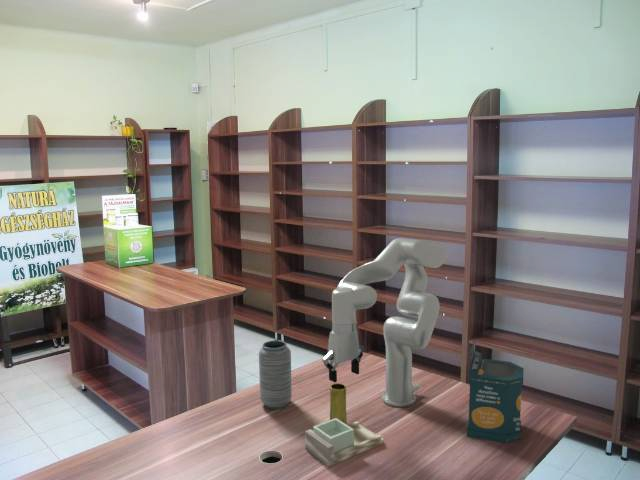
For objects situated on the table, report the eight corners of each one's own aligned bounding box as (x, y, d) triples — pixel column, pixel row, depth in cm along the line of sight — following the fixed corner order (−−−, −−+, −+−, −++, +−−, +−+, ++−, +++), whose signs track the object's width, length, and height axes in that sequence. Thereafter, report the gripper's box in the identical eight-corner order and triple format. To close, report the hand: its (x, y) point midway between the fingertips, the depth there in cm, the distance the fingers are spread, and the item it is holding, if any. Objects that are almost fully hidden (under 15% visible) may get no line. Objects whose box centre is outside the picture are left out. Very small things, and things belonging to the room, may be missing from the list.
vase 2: (345, 431, 179) (345, 390, 177) (327, 429, 180) (327, 389, 178) (348, 422, 185) (348, 383, 182) (331, 421, 186) (330, 381, 184)
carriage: (336, 435, 173) (335, 418, 172) (354, 447, 166) (353, 429, 165) (313, 444, 168) (312, 426, 167) (330, 457, 161) (330, 438, 160)
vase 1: (294, 408, 195) (293, 348, 191) (262, 413, 192) (260, 351, 189) (288, 395, 206) (287, 337, 203) (258, 398, 203) (256, 340, 200)
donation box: (472, 414, 190) (474, 337, 185) (520, 421, 184) (524, 343, 179) (466, 436, 175) (469, 354, 170) (520, 445, 169) (524, 360, 164)
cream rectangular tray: (359, 427, 181) (359, 410, 180) (383, 442, 172) (383, 424, 171) (305, 449, 169) (305, 431, 168) (328, 466, 159) (328, 447, 158)
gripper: (355, 318, 182) (355, 366, 185) (315, 329, 171) (316, 380, 174) (371, 323, 176) (371, 373, 179) (330, 335, 166) (331, 388, 168)
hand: (344, 376), depth 177 cm, fingers open, 9 cm apart
